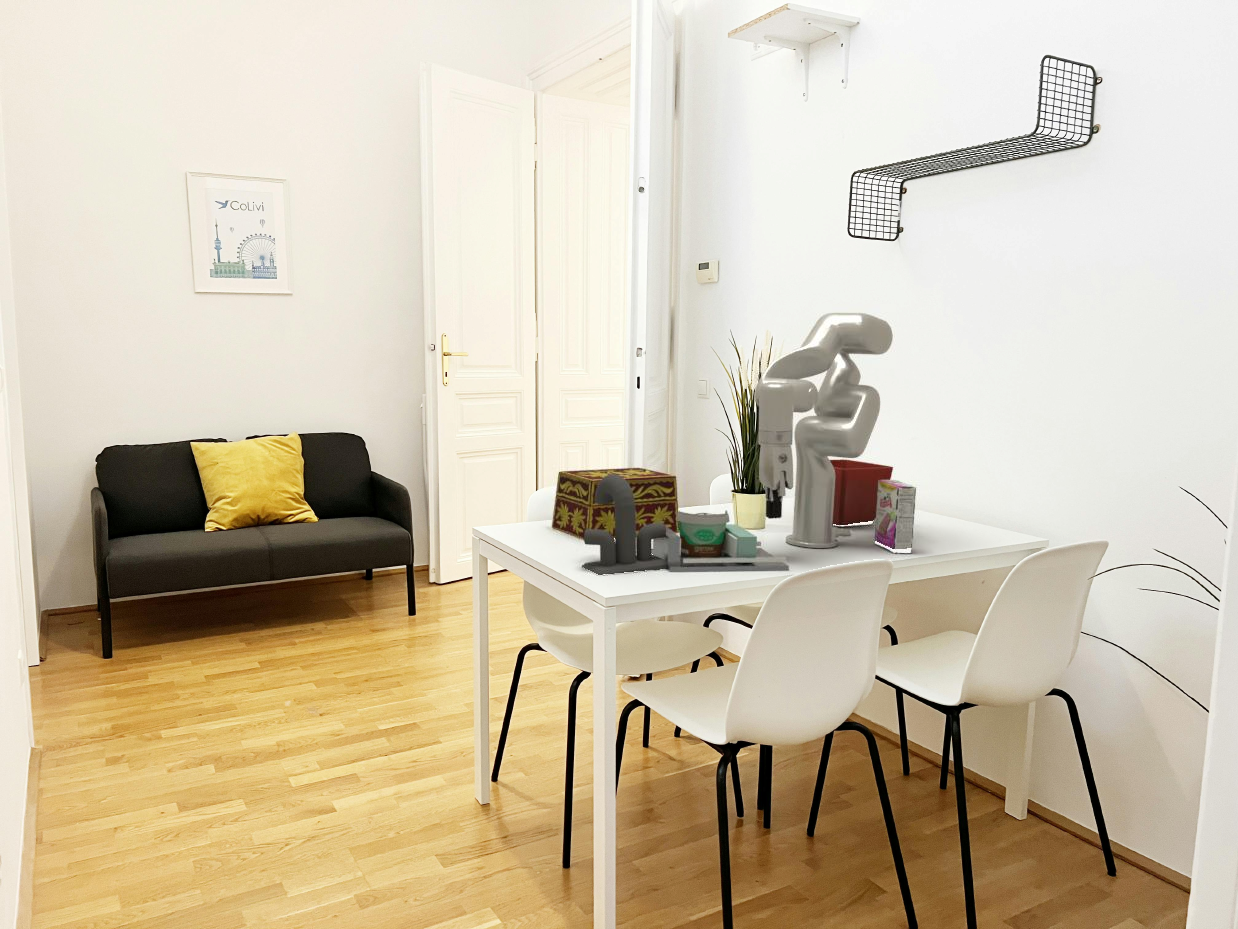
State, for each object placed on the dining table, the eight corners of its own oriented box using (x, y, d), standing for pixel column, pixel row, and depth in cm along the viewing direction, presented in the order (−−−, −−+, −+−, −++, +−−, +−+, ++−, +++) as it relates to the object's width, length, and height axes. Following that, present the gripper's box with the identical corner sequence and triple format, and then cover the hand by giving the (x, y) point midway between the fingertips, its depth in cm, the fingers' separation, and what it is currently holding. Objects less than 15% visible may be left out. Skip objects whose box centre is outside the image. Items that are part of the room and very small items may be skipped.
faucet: (636, 553, 211) (635, 466, 208) (672, 568, 197) (672, 476, 194) (564, 563, 202) (562, 473, 199) (597, 580, 188) (595, 484, 185)
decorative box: (639, 521, 252) (641, 466, 250) (680, 533, 236) (682, 475, 235) (551, 528, 237) (552, 470, 235) (587, 542, 222) (589, 480, 220)
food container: (683, 561, 200) (685, 515, 198) (674, 555, 205) (676, 510, 204) (736, 559, 203) (738, 514, 202) (725, 553, 209) (728, 510, 208)
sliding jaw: (735, 548, 213) (736, 524, 212) (755, 562, 199) (756, 536, 199) (716, 548, 212) (717, 524, 211) (735, 562, 198) (737, 536, 198)
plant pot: (841, 515, 271) (845, 458, 269) (890, 526, 255) (895, 466, 253) (792, 519, 262) (795, 460, 259) (840, 531, 245) (844, 469, 243)
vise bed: (760, 552, 216) (762, 522, 215) (788, 570, 199) (790, 538, 198) (650, 553, 211) (651, 523, 210) (669, 571, 194) (671, 539, 193)
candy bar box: (872, 544, 230) (877, 479, 228) (891, 544, 231) (895, 479, 229) (893, 554, 219) (897, 486, 217) (912, 554, 220) (917, 486, 218)
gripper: (804, 442, 200) (802, 524, 203) (779, 432, 214) (777, 509, 217) (771, 443, 198) (769, 526, 201) (748, 433, 212) (746, 511, 216)
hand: (773, 517), depth 209 cm, fingers closed
